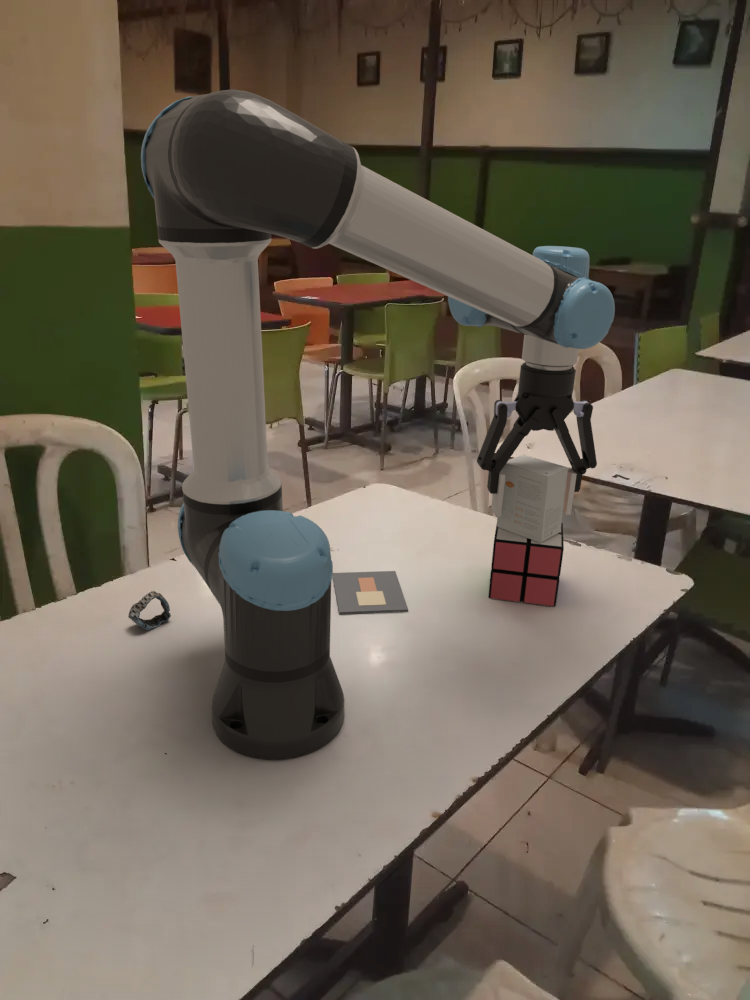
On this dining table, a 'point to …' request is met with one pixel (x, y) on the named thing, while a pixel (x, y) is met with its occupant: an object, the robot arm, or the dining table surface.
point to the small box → (533, 498)
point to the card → (369, 592)
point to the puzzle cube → (526, 568)
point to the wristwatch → (142, 605)
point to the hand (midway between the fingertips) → (530, 512)
